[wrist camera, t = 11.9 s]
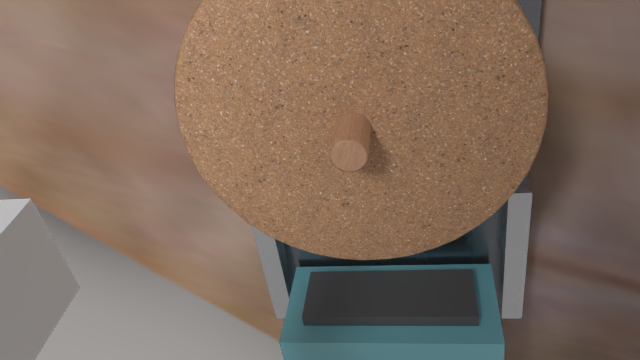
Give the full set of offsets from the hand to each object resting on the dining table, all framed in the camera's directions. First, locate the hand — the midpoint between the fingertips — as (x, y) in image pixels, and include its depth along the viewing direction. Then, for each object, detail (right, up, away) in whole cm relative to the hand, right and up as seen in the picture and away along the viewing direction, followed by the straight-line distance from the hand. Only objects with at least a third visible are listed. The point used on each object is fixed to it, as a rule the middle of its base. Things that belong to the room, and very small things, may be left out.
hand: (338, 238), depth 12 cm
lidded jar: (+2, +7, +11) cm, 13 cm away
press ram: (+3, -4, +18) cm, 19 cm away
